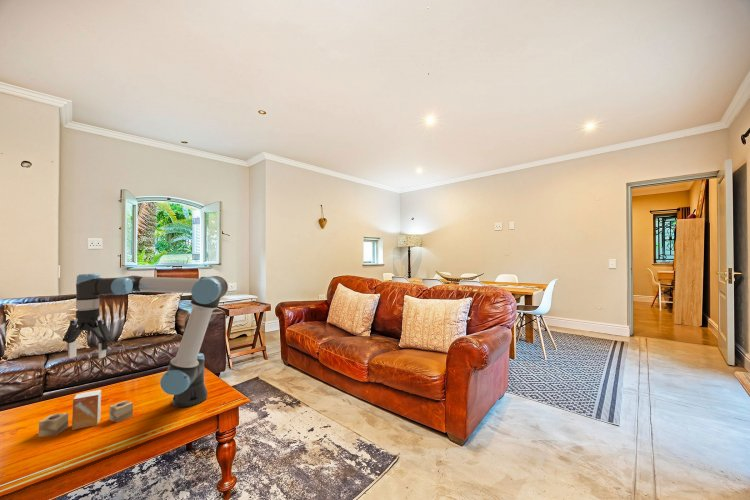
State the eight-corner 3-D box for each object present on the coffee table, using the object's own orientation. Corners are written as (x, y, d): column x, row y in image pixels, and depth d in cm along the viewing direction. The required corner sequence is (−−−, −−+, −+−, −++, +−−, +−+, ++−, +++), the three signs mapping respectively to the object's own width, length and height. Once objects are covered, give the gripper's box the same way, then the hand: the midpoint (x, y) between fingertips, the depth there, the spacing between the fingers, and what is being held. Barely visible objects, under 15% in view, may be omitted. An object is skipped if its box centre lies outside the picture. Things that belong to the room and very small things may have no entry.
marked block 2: (132, 416, 137) (132, 402, 137) (116, 422, 132) (117, 408, 132) (124, 413, 140) (125, 399, 140) (109, 419, 134) (109, 405, 134)
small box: (71, 430, 125) (72, 399, 126) (75, 423, 131) (76, 393, 131) (97, 424, 130) (98, 394, 130) (100, 418, 135) (101, 389, 135)
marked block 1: (68, 427, 128) (68, 412, 128) (56, 435, 122) (56, 419, 122) (51, 428, 127) (51, 413, 127) (38, 437, 121) (39, 421, 121)
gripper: (122, 307, 136) (122, 354, 135) (69, 307, 137) (69, 354, 136) (107, 310, 128) (106, 360, 128) (51, 310, 129) (50, 360, 129)
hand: (87, 357), depth 132 cm, fingers open, 13 cm apart
